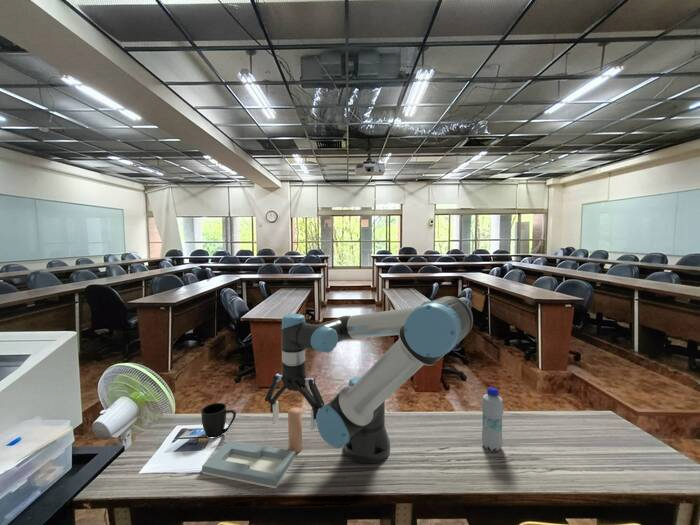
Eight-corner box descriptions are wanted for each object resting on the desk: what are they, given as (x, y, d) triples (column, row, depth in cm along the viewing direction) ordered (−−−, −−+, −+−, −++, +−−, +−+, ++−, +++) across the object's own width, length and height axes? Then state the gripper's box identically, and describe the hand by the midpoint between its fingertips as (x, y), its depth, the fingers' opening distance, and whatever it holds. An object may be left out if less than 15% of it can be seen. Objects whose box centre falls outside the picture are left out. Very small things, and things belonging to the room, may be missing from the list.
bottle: (492, 438, 111) (492, 382, 110) (507, 450, 105) (508, 390, 104) (476, 443, 109) (477, 385, 108) (491, 455, 102) (492, 393, 101)
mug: (230, 442, 111) (229, 415, 110) (197, 440, 112) (196, 413, 111) (240, 428, 119) (240, 403, 118) (210, 427, 120) (209, 402, 120)
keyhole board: (295, 458, 102) (295, 451, 102) (275, 488, 89) (275, 480, 89) (229, 447, 108) (229, 440, 108) (202, 473, 95) (202, 465, 95)
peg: (304, 445, 108) (303, 408, 108) (298, 454, 104) (298, 414, 103) (292, 444, 109) (291, 406, 109) (286, 452, 105) (285, 413, 104)
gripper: (333, 361, 106) (333, 423, 107) (265, 354, 112) (266, 413, 113) (326, 370, 98) (326, 437, 99) (253, 362, 105) (254, 425, 106)
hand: (294, 424), depth 106 cm, fingers open, 13 cm apart
